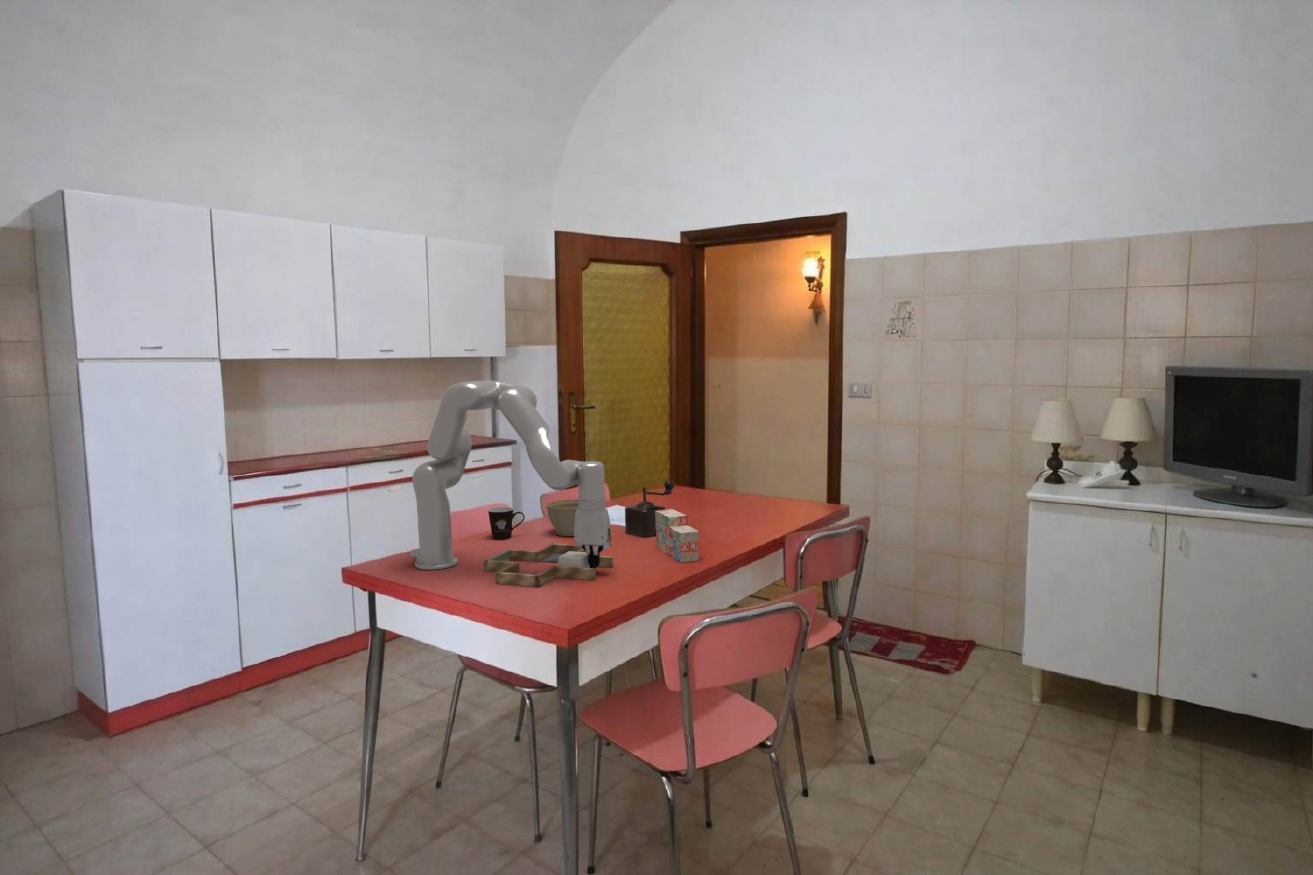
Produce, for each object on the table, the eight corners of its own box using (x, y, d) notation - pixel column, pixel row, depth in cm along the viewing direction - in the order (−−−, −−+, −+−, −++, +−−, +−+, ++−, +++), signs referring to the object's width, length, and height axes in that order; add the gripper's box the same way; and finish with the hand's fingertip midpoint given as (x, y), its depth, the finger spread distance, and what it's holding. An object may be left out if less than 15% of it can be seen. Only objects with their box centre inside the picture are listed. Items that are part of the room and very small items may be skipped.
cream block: (559, 574, 223) (558, 557, 223) (569, 567, 230) (569, 551, 229) (581, 576, 221) (580, 558, 220) (591, 569, 227) (590, 552, 227)
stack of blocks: (699, 561, 234) (698, 521, 233) (680, 563, 232) (679, 523, 231) (673, 545, 254) (672, 508, 253) (655, 547, 252) (654, 509, 251)
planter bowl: (578, 526, 284) (577, 497, 283) (602, 533, 272) (601, 503, 270) (539, 532, 275) (538, 502, 274) (562, 541, 262) (561, 509, 261)
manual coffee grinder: (645, 538, 264) (644, 486, 262) (624, 533, 272) (623, 482, 270) (678, 530, 274) (677, 480, 272) (656, 526, 282) (655, 477, 280)
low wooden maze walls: (465, 580, 218) (464, 570, 218) (524, 550, 250) (524, 541, 250) (578, 590, 207) (578, 579, 206) (625, 558, 239) (625, 548, 239)
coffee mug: (484, 540, 266) (483, 511, 264) (495, 534, 274) (494, 506, 273) (516, 541, 263) (515, 512, 262) (526, 535, 271) (525, 507, 270)
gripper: (562, 506, 221) (565, 569, 222) (611, 508, 216) (613, 572, 218) (573, 501, 228) (576, 562, 230) (621, 503, 223) (623, 565, 225)
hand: (594, 567), depth 224 cm, fingers closed
